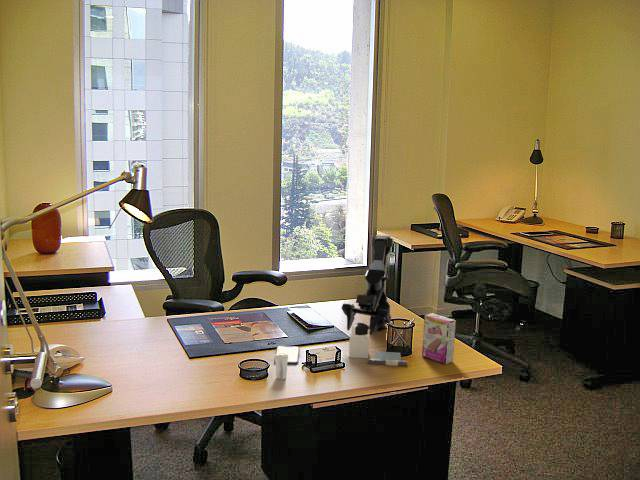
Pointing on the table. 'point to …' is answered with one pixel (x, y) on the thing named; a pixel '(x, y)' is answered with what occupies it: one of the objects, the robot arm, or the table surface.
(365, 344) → the medicine bottle
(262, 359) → the table surface
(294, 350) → the phone case
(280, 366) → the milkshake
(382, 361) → the marker pen
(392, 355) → the slate mat
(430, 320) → the candy bar box
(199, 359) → the table surface
